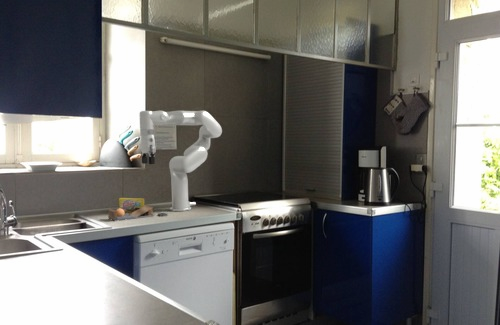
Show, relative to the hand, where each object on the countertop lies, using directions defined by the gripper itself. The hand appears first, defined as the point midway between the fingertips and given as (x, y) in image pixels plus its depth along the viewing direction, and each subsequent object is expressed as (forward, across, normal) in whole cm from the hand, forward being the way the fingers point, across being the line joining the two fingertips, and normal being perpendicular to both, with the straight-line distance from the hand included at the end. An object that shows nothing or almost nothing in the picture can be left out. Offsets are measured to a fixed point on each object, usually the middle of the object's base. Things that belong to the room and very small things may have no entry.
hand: (148, 163), depth 261 cm
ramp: (+28, -4, +12) cm, 31 cm away
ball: (+25, -4, +19) cm, 32 cm away
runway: (+28, -4, +12) cm, 31 cm away
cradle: (+28, -10, -3) cm, 30 cm away
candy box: (+29, +14, +5) cm, 32 cm away
